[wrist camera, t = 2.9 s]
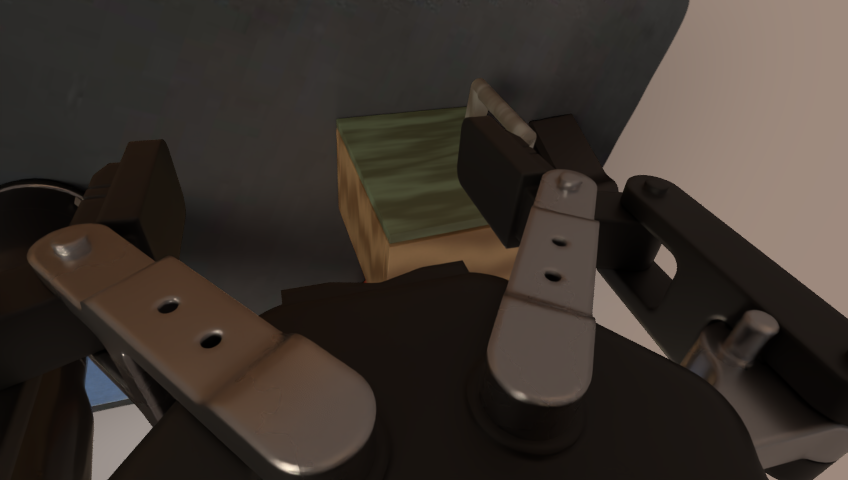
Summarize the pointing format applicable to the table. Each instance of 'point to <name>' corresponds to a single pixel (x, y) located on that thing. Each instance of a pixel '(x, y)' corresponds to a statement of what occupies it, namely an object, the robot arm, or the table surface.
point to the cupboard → (401, 257)
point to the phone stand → (569, 149)
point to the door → (422, 164)
